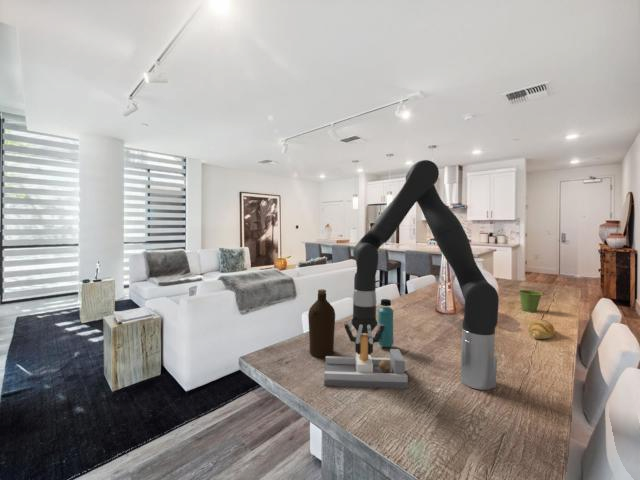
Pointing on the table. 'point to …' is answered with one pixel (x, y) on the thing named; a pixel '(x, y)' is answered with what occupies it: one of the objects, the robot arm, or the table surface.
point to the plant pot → (529, 300)
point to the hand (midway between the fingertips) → (363, 353)
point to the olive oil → (321, 326)
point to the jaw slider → (364, 356)
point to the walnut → (384, 366)
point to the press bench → (345, 374)
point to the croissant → (541, 329)
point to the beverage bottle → (386, 323)
